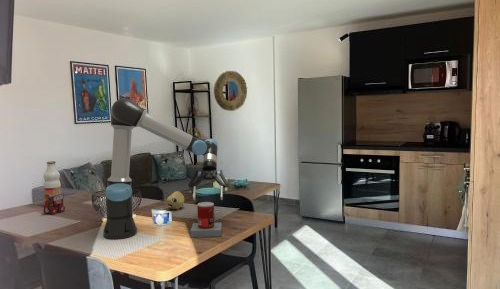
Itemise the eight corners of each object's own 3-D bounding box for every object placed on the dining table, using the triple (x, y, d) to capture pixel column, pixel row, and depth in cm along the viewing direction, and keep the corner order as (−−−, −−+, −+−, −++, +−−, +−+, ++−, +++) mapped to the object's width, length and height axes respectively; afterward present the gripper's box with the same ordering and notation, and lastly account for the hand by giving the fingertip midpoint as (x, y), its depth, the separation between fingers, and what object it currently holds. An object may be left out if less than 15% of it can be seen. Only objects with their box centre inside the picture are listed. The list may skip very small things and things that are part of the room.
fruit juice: (63, 205, 231) (60, 161, 229) (46, 208, 225) (43, 163, 223) (60, 203, 239) (58, 160, 236) (43, 205, 233) (41, 161, 231)
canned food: (211, 229, 171) (211, 206, 170) (195, 228, 172) (194, 205, 171) (216, 224, 178) (216, 202, 177) (200, 223, 180) (200, 201, 179)
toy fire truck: (40, 214, 210) (39, 197, 210) (59, 209, 222) (58, 192, 221) (48, 216, 207) (47, 198, 207) (67, 210, 219) (66, 193, 218)
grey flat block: (190, 237, 169) (190, 230, 169) (193, 229, 181) (193, 223, 181) (220, 236, 170) (220, 230, 169) (221, 228, 182) (221, 222, 181)
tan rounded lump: (162, 210, 216) (161, 193, 216) (174, 206, 227) (173, 189, 227) (176, 212, 213) (175, 194, 212) (187, 207, 224) (187, 190, 223)
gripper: (233, 168, 197) (233, 202, 184) (186, 168, 196) (183, 202, 183) (233, 159, 191) (233, 194, 178) (185, 160, 191) (181, 194, 177)
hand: (207, 198), depth 180 cm, fingers open, 13 cm apart
